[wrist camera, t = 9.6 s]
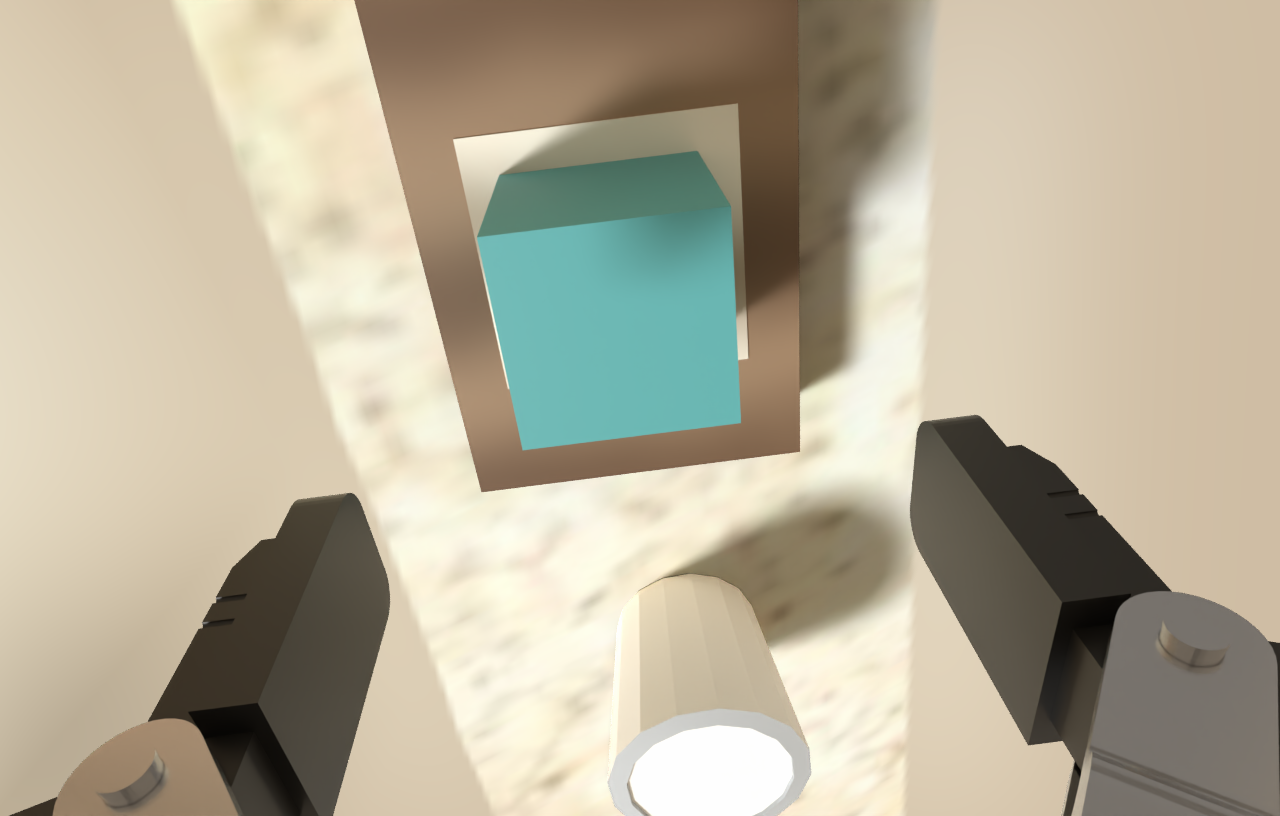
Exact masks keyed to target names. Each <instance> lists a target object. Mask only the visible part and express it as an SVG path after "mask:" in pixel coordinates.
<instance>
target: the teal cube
mask: <svg viewBox="0 0 1280 816" xmlns="http://www.w3.org/2000/svg"><path fill="white" fill-rule="evenodd" d="M477 241H478V245H479V250H480V254H481V259H482V264H483V268H484V273H485V278H486V282H487V287H488V292H489V296H490V301H491V306H492V310H493V315H494V319H495V324H496V329H497V333H498V338H499V343H500V347H501V352H502V357H503V361H504V366H505V370H506V375H507V380H508V384H509V389H510V394H511V398H512V403H513V408H514V412H515V417H516V422H517V426H518V431H519V435H520V440H521V445H522V449H523V450H530V449H538V448H546V447H554V446H562V445H570V444H578V443H586V442H594V441H602V440H610V439H618V438H626V437H634V436H642V435H650V434H658V433H666V432H674V431H682V430H690V429H698V428H706V427H714V426H722V425H730V424H738V423H741V411H740V389H739V367H738V346H737V324H736V302H735V280H734V259H733V237H732V215H731V205H730V203H729V202H728V200H727V199H726V197H725V195H724V194H723V192H722V190H721V189H720V187H719V185H718V184H717V182H716V180H715V179H714V177H713V175H712V174H711V172H710V170H709V169H708V167H707V166H706V164H705V162H704V161H703V159H702V157H701V156H700V154H699V152H698V151H691V152H683V153H675V154H667V155H659V156H651V157H643V158H634V159H626V160H618V161H610V162H602V163H594V164H586V165H577V166H569V167H561V168H553V169H545V170H537V171H529V172H520V173H512V174H504V175H499V177H498V180H497V182H496V185H495V188H494V191H493V194H492V196H491V199H490V202H489V205H488V208H487V210H486V213H485V216H484V219H483V222H482V224H481V227H480V230H479V233H478V235H477Z"/></svg>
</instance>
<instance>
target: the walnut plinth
mask: <svg viewBox="0 0 1280 816" xmlns="http://www.w3.org/2000/svg"><path fill="white" fill-rule="evenodd" d="M355 4H356V8H357V12H358V16H359V20H360V24H361V27H362V31H363V35H364V39H365V43H366V47H367V51H368V55H369V58H370V62H371V66H372V70H373V74H374V78H375V82H376V85H377V89H378V93H379V97H380V101H381V105H382V109H383V113H384V116H385V120H386V124H387V128H388V132H389V136H390V140H391V144H392V147H393V151H394V155H395V159H396V163H397V167H398V171H399V174H400V178H401V182H402V186H403V190H404V194H405V198H406V202H407V205H408V209H409V213H410V217H411V221H412V225H413V229H414V232H415V236H416V240H417V244H418V248H419V252H420V256H421V260H422V263H423V267H424V271H425V275H426V279H427V283H428V287H429V290H430V294H431V298H432V302H433V306H434V310H435V314H436V318H437V321H438V325H439V329H440V333H441V337H442V341H443V345H444V349H445V352H446V356H447V360H448V364H449V368H450V372H451V376H452V379H453V383H454V387H455V391H456V395H457V399H458V403H459V407H460V410H461V414H462V418H463V422H464V426H465V430H466V434H467V437H468V441H469V445H470V449H471V453H472V457H473V461H474V465H475V468H476V472H477V476H478V480H479V484H480V488H481V492H487V491H495V490H503V489H511V488H518V487H526V486H534V485H542V484H550V483H558V482H566V481H573V480H581V479H589V478H597V477H605V476H613V475H621V474H628V473H636V472H644V471H652V470H660V469H668V468H675V467H683V466H691V465H699V464H707V463H715V462H723V461H730V460H738V459H746V458H754V457H762V456H770V455H778V454H785V453H793V452H800V367H799V140H798V0H355ZM691 151H698V152H699V154H700V156H701V157H702V159H703V161H704V162H705V164H706V166H707V167H708V169H709V170H710V172H711V174H712V175H713V177H714V179H715V180H716V182H717V184H718V185H719V187H720V189H721V190H722V192H723V194H724V195H725V197H726V199H727V200H728V202H729V203H730V205H731V215H732V237H733V259H734V280H735V302H736V324H737V346H738V367H739V389H740V411H741V423H738V424H730V425H722V426H714V427H706V428H698V429H690V430H682V431H674V432H666V433H658V434H650V435H642V436H634V437H626V438H618V439H610V440H602V441H594V442H586V443H578V444H570V445H562V446H554V447H546V448H538V449H530V450H523V449H522V445H521V440H520V435H519V431H518V426H517V422H516V417H515V412H514V408H513V403H512V398H511V394H510V389H509V384H508V380H507V375H506V370H505V366H504V361H503V357H502V352H501V347H500V343H499V338H498V333H497V329H496V324H495V319H494V315H493V310H492V306H491V301H490V296H489V292H488V287H487V282H486V278H485V273H484V268H483V264H482V259H481V254H480V250H479V245H478V241H477V235H478V233H479V230H480V227H481V224H482V222H483V219H484V216H485V213H486V210H487V208H488V205H489V202H490V199H491V196H492V194H493V191H494V188H495V185H496V182H497V180H498V177H499V175H504V174H512V173H520V172H529V171H537V170H545V169H553V168H561V167H569V166H577V165H586V164H594V163H602V162H610V161H618V160H626V159H634V158H643V157H651V156H659V155H667V154H675V153H683V152H691Z"/></svg>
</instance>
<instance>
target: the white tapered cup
mask: <svg viewBox="0 0 1280 816" xmlns="http://www.w3.org/2000/svg"><path fill="white" fill-rule="evenodd" d="M810 775H811V764H810V752H809V747H808V745H807V742H806V740H805V737H804V735H803V732H802V730H801V727H800V725H799V722H798V720H797V717H796V715H795V712H794V710H793V707H792V705H791V702H790V700H789V697H788V695H787V692H786V690H785V687H784V685H783V682H782V680H781V678H780V675H779V673H778V670H777V668H776V665H775V663H774V660H773V658H772V655H771V653H770V650H769V648H768V645H767V643H766V640H765V638H764V635H763V633H762V630H761V628H760V625H759V623H758V620H757V618H756V615H755V613H754V611H753V608H752V606H751V604H750V603H749V601H748V600H747V599H746V597H745V596H744V595H743V593H742V592H741V591H740V590H739V588H737V587H735V586H733V585H731V584H729V583H727V582H725V581H724V580H722V579H720V578H718V577H712V576H704V575H697V574H685V575H679V576H674V577H668V578H662V579H661V580H659V581H657V582H655V583H653V584H651V585H649V586H647V587H645V588H643V589H641V590H639V591H638V592H637V593H636V594H635V595H634V597H633V598H632V599H631V600H630V601H629V602H628V603H627V604H626V605H625V606H624V608H623V610H622V613H621V616H620V620H619V623H618V627H617V638H616V654H615V670H614V686H613V702H612V719H611V735H610V751H609V767H608V785H609V789H610V792H611V795H612V799H613V802H614V806H615V807H616V808H617V809H618V810H619V811H620V812H622V813H623V814H624V815H625V816H777V815H779V814H780V813H781V812H782V811H784V810H785V809H786V808H787V807H788V806H790V805H791V804H792V803H793V802H794V801H796V800H797V799H798V798H799V796H800V794H801V792H802V791H803V789H804V787H805V785H806V783H807V781H808V779H809V777H810Z"/></svg>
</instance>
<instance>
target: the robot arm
mask: <svg viewBox="0 0 1280 816" xmlns="http://www.w3.org/2000/svg"><path fill="white" fill-rule="evenodd" d="M910 518H911V526H912V531H913V535H914V539H915V542H916V545H917V547H918V549H919V551H920V553H921V555H922V557H923V559H924V560H925V562H926V564H927V566H928V568H929V569H930V571H931V573H932V575H933V576H934V578H935V580H936V582H937V583H938V585H939V587H940V589H941V591H942V593H943V594H944V596H945V598H946V600H947V601H948V603H949V605H950V607H951V608H952V610H953V612H954V614H955V616H956V618H957V619H958V621H959V623H960V625H961V626H962V628H963V630H964V632H965V633H966V635H967V637H968V639H969V641H970V642H971V644H972V646H973V648H974V649H975V651H976V653H977V654H978V657H979V658H980V660H981V662H982V664H983V666H984V667H985V669H986V670H987V673H988V674H989V676H990V678H991V680H992V682H993V683H994V685H995V687H996V689H997V690H998V692H999V694H1000V696H1001V698H1002V699H1003V701H1004V703H1005V705H1006V707H1007V708H1008V710H1009V712H1010V714H1011V715H1012V717H1013V719H1014V721H1015V722H1016V724H1017V726H1018V728H1019V730H1020V732H1021V733H1022V735H1023V737H1024V739H1025V740H1026V742H1027V744H1028V745H1034V744H1042V743H1049V742H1057V741H1063V742H1064V743H1065V745H1066V747H1067V749H1068V750H1069V752H1070V754H1071V755H1072V757H1073V758H1074V762H1073V765H1072V769H1071V773H1070V777H1069V781H1068V786H1067V791H1066V795H1065V800H1064V805H1063V810H1062V814H1061V816H1280V643H1276V642H1269V641H1267V639H1266V638H1265V637H1264V636H1263V635H1262V633H1261V632H1260V631H1259V630H1258V629H1257V628H1256V627H1254V626H1253V625H1252V624H1251V623H1249V622H1248V621H1247V620H1246V619H1244V618H1243V617H1241V616H1240V615H1238V614H1237V613H1235V612H1233V611H1231V610H1230V609H1228V608H1226V607H1224V606H1222V605H1219V604H1217V603H1215V602H1212V601H1210V600H1207V599H1204V598H1201V597H1198V596H1194V595H1189V594H1185V593H1179V592H1172V591H1171V590H1170V589H1169V588H1168V587H1167V586H1166V584H1165V583H1164V582H1163V581H1162V580H1161V579H1160V578H1159V577H1158V576H1157V575H1156V574H1155V572H1154V571H1153V570H1152V569H1151V568H1150V567H1149V566H1148V565H1147V564H1146V563H1145V562H1144V560H1143V559H1142V558H1141V557H1140V556H1139V555H1138V554H1137V553H1136V552H1135V551H1134V550H1133V548H1132V547H1131V546H1130V545H1129V544H1128V543H1127V542H1126V541H1125V540H1124V539H1123V538H1122V537H1121V535H1120V534H1119V533H1118V532H1117V531H1116V530H1115V529H1114V528H1113V527H1112V525H1111V524H1110V523H1109V522H1108V521H1107V520H1106V519H1105V518H1104V517H1103V516H1102V515H1101V516H1099V515H1098V513H1097V509H1096V508H1095V507H1094V506H1093V505H1092V504H1091V503H1090V501H1089V500H1088V499H1087V498H1086V497H1085V496H1084V495H1083V494H1082V495H1080V494H1079V492H1078V488H1077V487H1076V486H1075V485H1074V484H1073V483H1072V482H1071V481H1070V480H1069V478H1068V477H1067V476H1066V475H1065V474H1064V473H1063V472H1062V471H1061V470H1060V469H1059V468H1058V467H1057V466H1056V464H1054V463H1052V462H1051V461H1049V460H1047V459H1045V458H1043V457H1042V456H1040V455H1038V454H1036V453H1035V452H1033V451H1031V450H1029V449H1028V448H1026V447H1024V446H1022V445H1017V446H1009V447H1007V446H1006V445H1005V444H1004V443H1003V442H1002V441H1001V439H1000V438H999V437H998V436H997V435H996V433H995V432H994V431H993V430H992V429H991V428H990V426H989V425H988V424H987V423H986V422H985V420H984V419H982V418H981V417H980V416H978V415H971V416H964V417H956V418H948V419H940V420H932V421H924V422H922V423H921V424H920V426H919V428H918V432H917V438H916V449H915V460H914V470H913V481H912V492H911V503H910ZM389 607H390V592H389V583H388V578H387V574H386V571H385V568H384V566H383V563H382V560H381V557H380V555H379V552H378V549H377V546H376V544H375V541H374V538H373V535H372V533H371V530H370V527H369V525H368V522H367V519H366V516H365V514H364V511H363V508H362V506H361V503H360V501H359V500H358V498H357V497H356V496H355V495H354V494H352V493H346V494H339V495H331V496H323V497H315V498H307V499H299V500H297V501H295V502H294V503H293V505H292V506H291V508H290V510H289V512H288V514H287V516H286V518H285V520H284V522H283V524H282V526H281V528H280V530H279V532H278V534H277V536H276V538H274V539H267V540H261V541H260V542H259V543H258V544H257V545H256V546H255V547H254V548H253V549H252V550H250V551H249V552H248V553H247V554H246V555H245V556H244V557H243V558H242V559H241V560H240V561H239V562H238V563H237V564H236V565H235V566H234V567H233V568H232V569H231V571H230V573H229V575H228V577H227V578H226V580H225V582H224V584H223V586H222V587H221V589H220V591H219V593H218V595H217V596H216V603H214V604H212V606H211V607H210V609H209V611H208V613H207V615H206V617H205V618H204V620H203V622H202V623H203V628H202V629H198V631H197V633H196V635H195V637H194V638H193V640H192V642H191V644H190V646H189V648H188V649H187V651H186V653H185V655H184V657H183V659H182V660H181V662H180V664H179V666H178V668H177V669H176V671H175V673H174V675H173V677H172V679H171V680H170V682H169V684H168V686H167V688H166V689H165V691H164V693H163V695H162V697H161V698H160V700H159V702H158V704H157V706H156V708H155V709H154V711H153V713H152V715H151V717H150V718H149V720H148V722H146V723H143V724H140V725H138V726H135V727H133V728H130V729H128V730H126V731H124V732H122V733H120V734H118V735H117V736H115V737H113V738H112V739H110V740H109V741H107V742H105V743H104V744H103V745H101V746H100V747H99V748H97V749H96V750H95V751H94V752H92V753H91V754H90V755H89V756H88V757H87V758H86V759H85V760H84V761H82V763H81V764H80V765H79V766H78V767H77V768H76V769H75V770H74V771H73V773H72V774H71V775H70V777H69V778H68V779H67V781H66V782H65V784H64V785H63V787H62V789H61V791H60V793H59V795H58V797H56V798H54V799H51V800H48V801H46V802H43V803H41V804H38V805H35V806H33V807H31V808H28V809H25V810H23V811H20V812H18V813H15V814H12V815H10V816H333V813H334V809H335V806H336V803H337V799H338V795H339V792H340V788H341V785H342V781H343V777H344V774H345V770H346V767H347V763H348V760H349V756H350V753H351V749H352V745H353V742H354V738H355V734H356V731H357V727H358V724H359V720H360V716H361V713H362V709H363V705H364V702H365V699H366V695H367V691H368V688H369V684H370V681H371V677H372V673H373V669H374V666H375V663H376V659H377V655H378V652H379V648H380V645H381V641H382V637H383V634H384V630H385V626H386V623H387V620H388V615H389Z"/></svg>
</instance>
